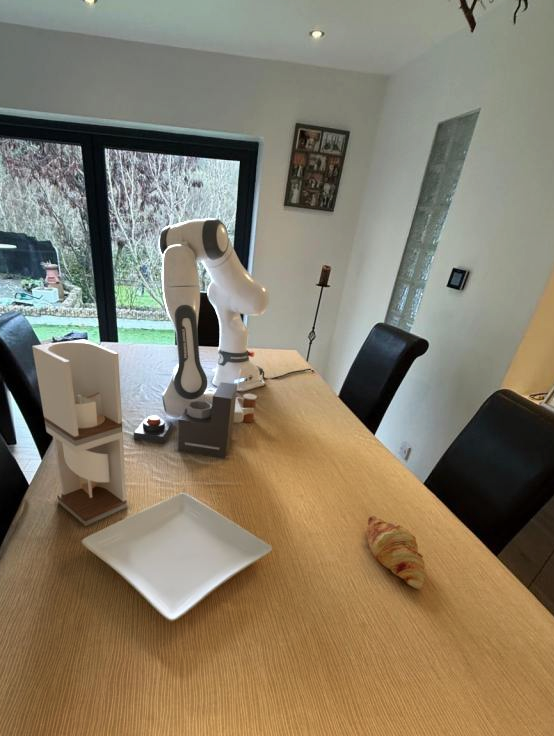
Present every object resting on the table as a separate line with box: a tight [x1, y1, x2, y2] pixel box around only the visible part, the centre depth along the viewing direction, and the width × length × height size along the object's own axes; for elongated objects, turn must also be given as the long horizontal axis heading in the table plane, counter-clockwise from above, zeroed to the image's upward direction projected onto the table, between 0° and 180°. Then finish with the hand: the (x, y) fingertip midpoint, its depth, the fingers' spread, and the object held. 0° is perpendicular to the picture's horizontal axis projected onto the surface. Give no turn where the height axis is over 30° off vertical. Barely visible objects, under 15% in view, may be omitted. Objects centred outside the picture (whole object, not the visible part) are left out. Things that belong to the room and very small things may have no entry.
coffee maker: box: [177, 382, 238, 459], centre depth 120 cm, size 12×14×18 cm
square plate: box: [81, 492, 273, 622], centre depth 82 cm, size 27×27×4 cm
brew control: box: [133, 417, 174, 444], centre depth 127 cm, size 11×9×4 cm
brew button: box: [147, 414, 161, 425], centre depth 126 cm, size 4×4×2 cm
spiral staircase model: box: [31, 338, 128, 527], centre depth 86 cm, size 11×11×35 cm
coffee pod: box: [241, 393, 258, 423], centre depth 141 cm, size 5×5×8 cm
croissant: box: [366, 515, 426, 590], centre depth 88 cm, size 21×10×8 cm, turn 11°
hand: (251, 405), depth 141 cm, fingers open, 6 cm apart
